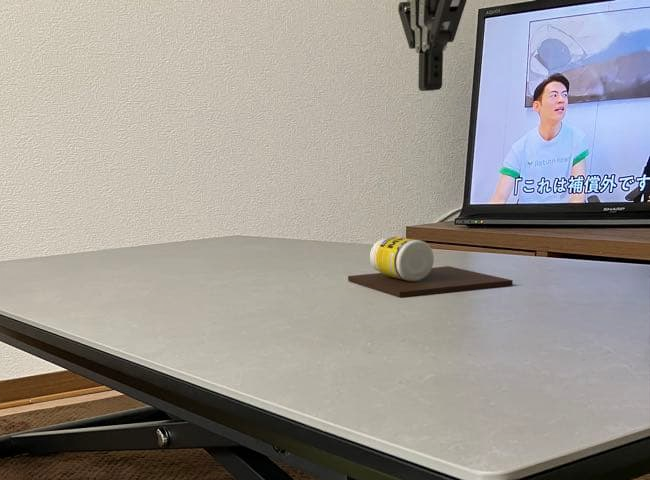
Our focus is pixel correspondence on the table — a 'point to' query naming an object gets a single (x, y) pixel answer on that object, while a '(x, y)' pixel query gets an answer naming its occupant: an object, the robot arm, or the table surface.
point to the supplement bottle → (402, 258)
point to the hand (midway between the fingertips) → (430, 90)
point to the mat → (431, 282)
